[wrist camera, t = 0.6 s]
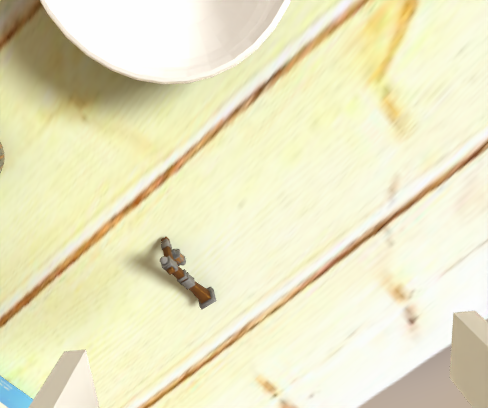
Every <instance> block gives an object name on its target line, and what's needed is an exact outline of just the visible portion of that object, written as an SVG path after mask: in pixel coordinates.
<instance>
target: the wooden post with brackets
mask: <svg viewBox="0 0 488 408" xmlns="http://www.w3.org/2000/svg"><path fill="white" fill-rule="evenodd" d="M161 241H162V242H161V243H162V244H161V247H162V250H163V252H164V256H163V257H161V258H160V262H161V265H162V268H163V269H165V270H166V271H167V272H168V273H169V274H170V275H171V274H173V275H174V276H175V277H176V278H177V281H178V282H179V283H180V284H181V285H183V286H184V287H185V288H186V289H187V290H188V289H189V290H191V291H192V292H193V294H194V295H195V296H196V297H197V298H198V301H199V306H200V307H201V310H202V309H203V308H205V307H207V306H209V305H210V304H212V303H214V302H216V298H215V294H214V290H213V289H212V288H211V287H210V288H208V289H206V288H204V287H203V286H201V285H200V284H198V283H197V282H195V281H194V278H193V277H191V276H190V275H189V273H188V272H186V270H185V269H184V270H182V269H181V268H180V267H178V266H179V265H185V263H186V261H185V256H183V255H182V254H181V253H180V250H179V249H178V250H176V251H175V250H174V249H173V250H172V247H171V244H170V242H169V239H168V238H167V237H165V238H163V239H161ZM177 265H178V266H177Z"/></svg>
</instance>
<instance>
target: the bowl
mask: <svg viewBox="0 0 488 408" xmlns="http://www.w3.org/2000/svg"><path fill="white" fill-rule="evenodd" d="M40 1H41V3H42V5H43V7H44V9H45V10H46V12H47V14H48V15H49V16H50V18H51V19H52V20H53V21H54V23H55V24H56V25H57V26H58V28H59V29H60V30H61V31H62V33H63V34H64V35H65V36H66V38H68V39H69V40H70V41H71V42H72V43H73V44H74V45H76V46H77V47H78V48H79V49H80V50H81V51H82V52H84V53H85V54H86V55H87V56H88V57H90V58H91V59H93V60H95V61H96V62H98V63H100V64H101V65H103V66H105V67H106V68H108V69H110V70H111V71H114V72H116V73H119V74H122V75H125V76H127V77H130V78H133V79H135V80H140V81H146V82H152V83H158V84H179V83H191V82H195V81H199V80H202V79H206V78H210V77H214V76H216V75H218V74H220V73H222V72H224V71H226V70H228V69H230V68H232V67H234V66H236V65H238V64H239V63H240V62H241V61H243V60H244V59H245V58H247V57H248V56H249V55H250V54H252V53H253V52H254V51H256V50H257V49H258V48H259V47H260V45H261V44H262V43H263V42H264V41H265V40H266V39H267V37H268V36H269V35H270V34H271V33H272V32H273V30H274V29H275V28H276V26H277V25H278V23H279V21H280V19H281V18H282V16H283V14H284V13H285V11H286V9H287V7H288V6H289V4H290V1H291V0H40Z"/></svg>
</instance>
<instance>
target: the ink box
mask: <svg viewBox="0 0 488 408" xmlns="http://www.w3.org/2000/svg"><path fill="white" fill-rule="evenodd" d="M32 401H33V399H32V398H30V397H29V396H28V395H26V394H25V393H23V392H22V391H21V390H19V389H18V388H16V387H15V386H14V385H12V384H11V383H9V382H8V381H7V380H5V379H4V378H3V377H1V376H0V408H28V407H29V406H30V404H31V403H32Z"/></svg>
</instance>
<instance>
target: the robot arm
mask: <svg viewBox="0 0 488 408" xmlns="http://www.w3.org/2000/svg"><path fill="white" fill-rule="evenodd" d="M449 378H450V379H451V380H452V381H453V383H454V384H455V385H456V387H457V388H458V389H459V390H460V392H461V393H462V394H463V396H464V397H465V398H466V400H467V401H468V402H469V403H470V405H471V406H472V408H488V322H487V321H486V320H485V319H484V318H482V317H481V316H480V315H479V314H478V313H477V312H476V311H468V312H458V313H454V314H453V330H452V346H451V361H450V377H449ZM28 408H99V404H98V399H97V395H96V391H95V387H94V382H93V378H92V374H91V370H90V365H89V361H88V357H87V353H86V349H85V350H75V351H65V352H64V353H63V354H62V356H61V357H60V359H59V360H58V362H57V364H56V365H55V367H54V368H53V370H52V371H51V373H50V375H49V376H48V378H47V379H46V381H45V382H44V384H43V386H42V387H41V389H40V390H39V392H38V393H37V395H36V397H35V398H34V400H33V401H32V403H31V404H30V406H29V407H28Z"/></svg>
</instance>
